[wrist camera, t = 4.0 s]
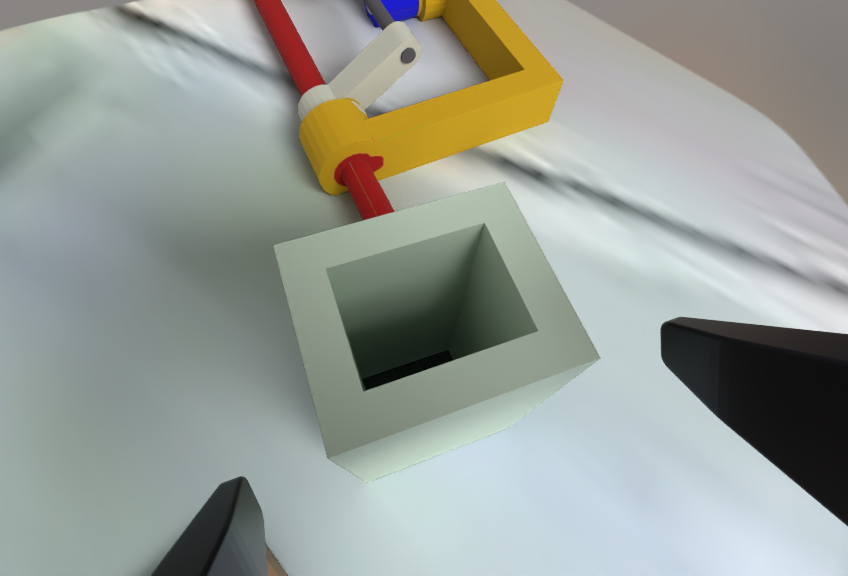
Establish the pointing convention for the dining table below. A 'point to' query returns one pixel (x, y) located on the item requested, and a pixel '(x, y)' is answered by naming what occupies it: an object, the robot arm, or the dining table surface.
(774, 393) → the robot arm
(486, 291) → the sleeve
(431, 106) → the mechanical clamp
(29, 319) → the dining table surface
